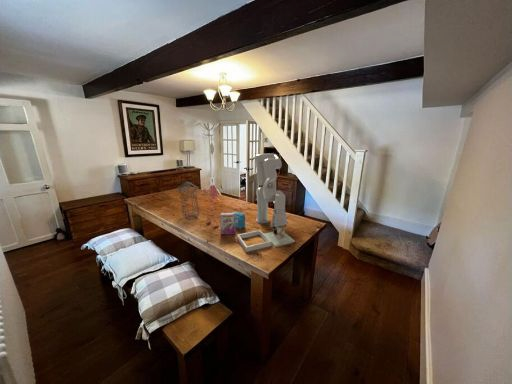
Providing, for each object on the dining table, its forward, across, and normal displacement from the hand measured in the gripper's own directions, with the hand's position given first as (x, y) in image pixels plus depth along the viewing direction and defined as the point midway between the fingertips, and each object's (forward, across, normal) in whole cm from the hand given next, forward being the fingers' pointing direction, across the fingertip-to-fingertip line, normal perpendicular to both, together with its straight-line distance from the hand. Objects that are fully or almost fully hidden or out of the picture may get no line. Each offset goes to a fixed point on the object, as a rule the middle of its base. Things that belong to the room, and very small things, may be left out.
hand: (278, 233), depth 146 cm
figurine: (+5, -37, +46) cm, 59 cm away
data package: (+5, -21, +32) cm, 39 cm away
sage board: (+5, 0, 0) cm, 5 cm away
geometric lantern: (+5, -56, +67) cm, 88 cm away
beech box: (+2, 0, 0) cm, 2 cm away
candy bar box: (+5, -32, +24) cm, 40 cm away
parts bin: (+5, -19, +3) cm, 20 cm away
